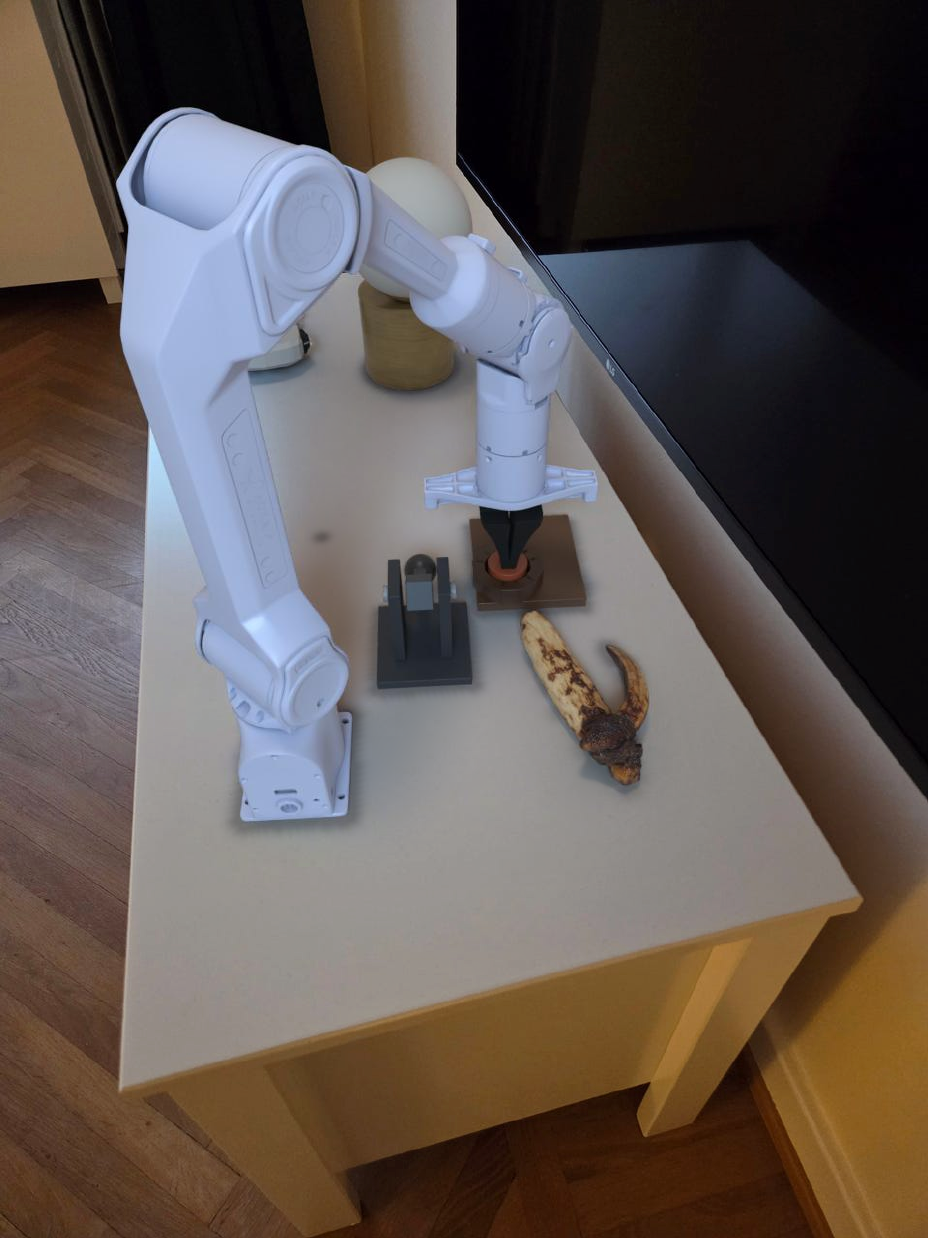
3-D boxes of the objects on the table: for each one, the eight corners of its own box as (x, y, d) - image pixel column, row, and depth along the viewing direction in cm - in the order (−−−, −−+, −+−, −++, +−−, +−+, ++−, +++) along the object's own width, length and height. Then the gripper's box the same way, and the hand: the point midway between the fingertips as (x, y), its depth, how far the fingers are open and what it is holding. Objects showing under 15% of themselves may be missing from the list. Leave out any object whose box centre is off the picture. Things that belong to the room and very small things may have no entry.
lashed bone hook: (698, 767, 66) (588, 612, 77) (713, 732, 62) (595, 575, 73) (593, 806, 63) (495, 639, 74) (603, 772, 60) (499, 602, 71)
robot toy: (218, 337, 114) (218, 387, 103) (210, 304, 111) (209, 352, 100) (308, 327, 116) (318, 375, 105) (303, 294, 113) (312, 340, 102)
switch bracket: (379, 613, 77) (370, 541, 71) (466, 609, 77) (464, 537, 71) (377, 690, 71) (367, 619, 64) (472, 685, 71) (471, 614, 65)
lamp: (490, 393, 102) (493, 173, 84) (380, 418, 99) (358, 195, 81) (446, 336, 112) (440, 128, 94) (345, 357, 109) (318, 145, 90)
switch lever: (405, 583, 78) (403, 551, 78) (437, 581, 78) (435, 550, 78) (402, 615, 68) (399, 579, 67) (438, 613, 68) (437, 577, 67)
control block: (585, 609, 77) (588, 586, 75) (474, 614, 77) (474, 591, 75) (567, 523, 85) (569, 500, 83) (466, 527, 85) (466, 504, 83)
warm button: (528, 588, 77) (529, 574, 75) (489, 590, 76) (489, 576, 75) (524, 561, 79) (525, 547, 78) (486, 563, 79) (486, 549, 78)
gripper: (594, 404, 70) (580, 529, 79) (420, 411, 69) (427, 536, 79) (609, 454, 65) (591, 580, 75) (421, 463, 64) (429, 588, 74)
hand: (507, 561), depth 77 cm, fingers closed, pressing on warm button
